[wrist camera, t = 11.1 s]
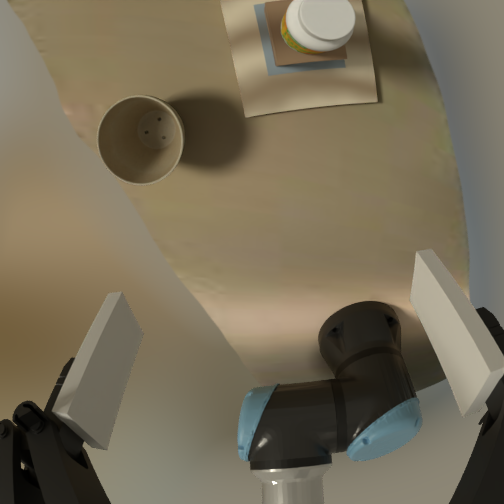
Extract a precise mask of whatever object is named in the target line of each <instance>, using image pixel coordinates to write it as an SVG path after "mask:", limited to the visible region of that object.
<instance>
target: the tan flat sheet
mask: <svg viewBox="0 0 504 504" xmlns="http://www.w3.org/2000/svg"><path fill="white" fill-rule="evenodd" d="M272 1H280V0H220V2H221V7H222V11H223V16H224V20H225V25H226V29H227V34H228V38H229V43H230V47H231V52H232V57H233V61H234V66H235V70H236V75H237V80H238V85H239V89H240V94H241V99H242V104H243V109H244V113H245V118H246V117H252V116H258V115H264V114H270V113H276V112H283V111H290V110H297V109H305V108H313V107H322V106H332V105H342V104H354V103H369V102H378V101H377V91H376V83H375V75H374V67H373V60H372V54H371V47H370V41H369V36H368V30H367V25H366V20H365V14H364V10H363V5H362V0H348V1H349V2H350V4H351V5H352V7H353V9H354V11H355V17H356V20H355V25H354V30H353V33H352V35H351V37H350V39H349V40H348V41H347V42H346V43H345V47H346V53H347V59H342V60H330V61H318V62H307V63H298V64H290V65H282V66H275V61H274V56H273V51H272V46H271V41H270V36H269V31H268V27H267V22H266V17H265V13H264V7H265V2H272Z"/></svg>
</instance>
